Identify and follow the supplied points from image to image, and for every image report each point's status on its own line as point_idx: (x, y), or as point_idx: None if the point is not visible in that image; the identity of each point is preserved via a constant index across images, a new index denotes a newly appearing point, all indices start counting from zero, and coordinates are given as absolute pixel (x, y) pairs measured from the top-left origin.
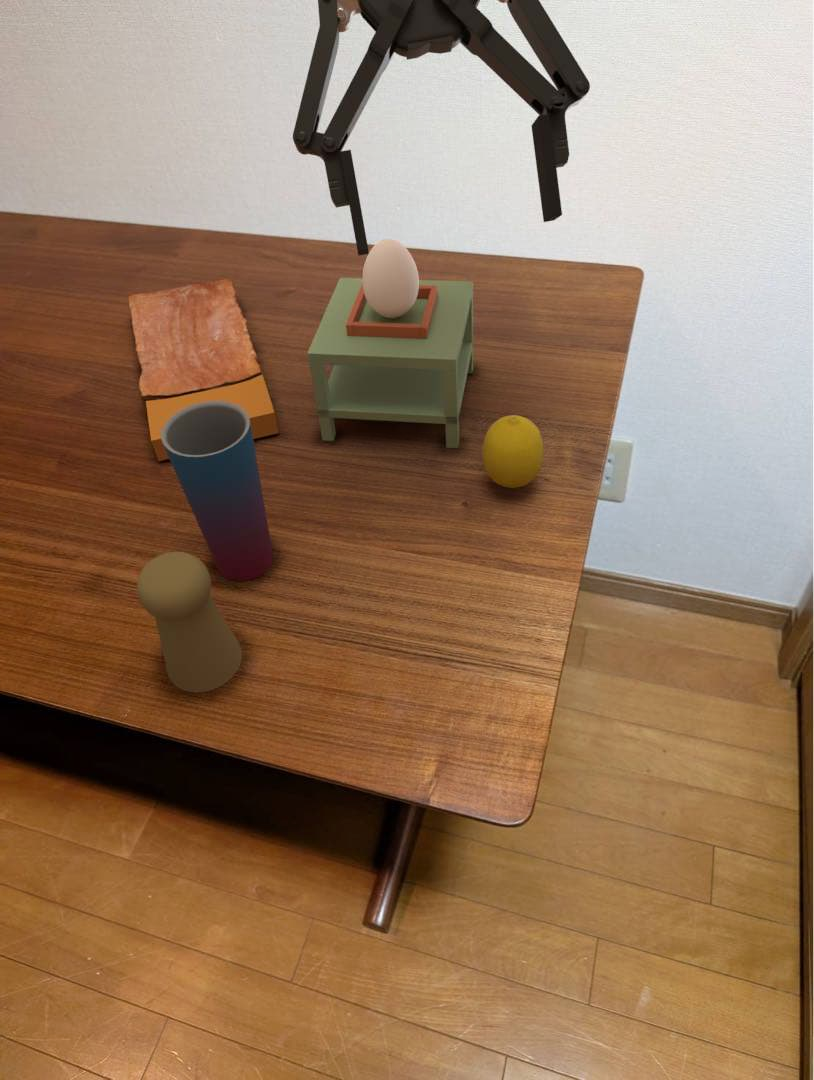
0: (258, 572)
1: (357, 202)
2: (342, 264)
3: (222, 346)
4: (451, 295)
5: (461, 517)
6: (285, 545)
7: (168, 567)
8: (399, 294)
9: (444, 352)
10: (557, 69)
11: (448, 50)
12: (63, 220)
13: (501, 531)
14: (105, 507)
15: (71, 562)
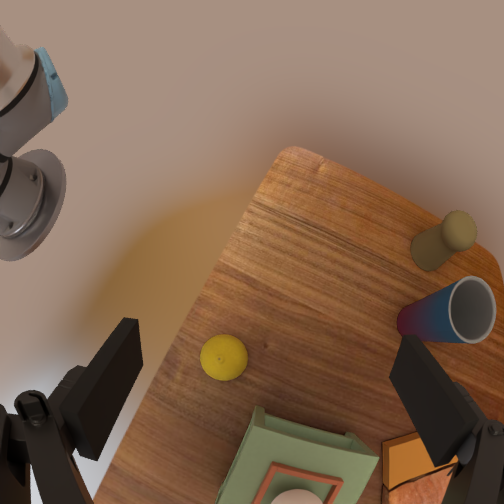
0: (406, 306)
1: (433, 370)
2: None
3: None
4: None
5: (271, 333)
6: (389, 331)
7: (466, 227)
8: (293, 494)
9: (261, 437)
10: (4, 461)
11: None
12: None
13: (247, 313)
14: (479, 379)
15: (490, 335)
